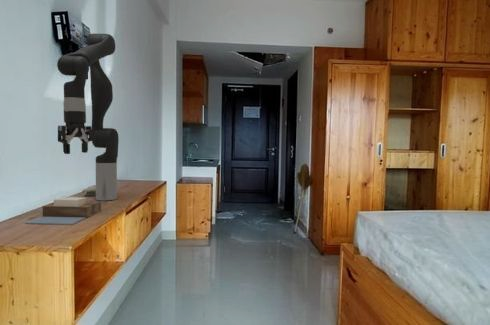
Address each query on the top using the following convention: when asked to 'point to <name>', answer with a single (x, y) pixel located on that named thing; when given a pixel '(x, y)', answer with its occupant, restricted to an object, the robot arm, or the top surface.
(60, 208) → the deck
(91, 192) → the packaged product
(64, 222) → the mat
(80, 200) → the cream thick tile
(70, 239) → the top surface
